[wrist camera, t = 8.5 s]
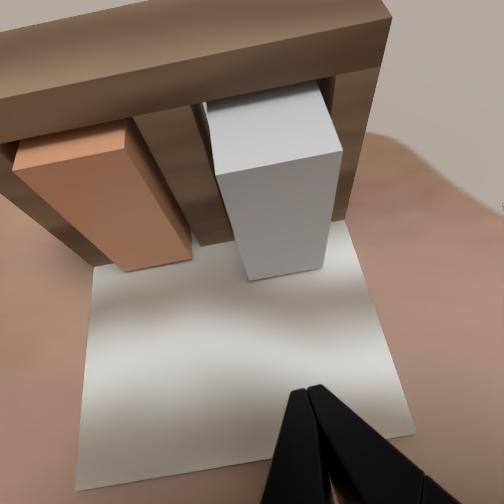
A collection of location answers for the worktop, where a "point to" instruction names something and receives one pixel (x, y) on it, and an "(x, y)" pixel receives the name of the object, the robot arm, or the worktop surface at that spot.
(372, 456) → the robot arm
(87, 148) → the terracotta plug
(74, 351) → the worktop surface
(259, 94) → the grey plug
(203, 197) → the socket block
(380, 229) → the worktop surface
